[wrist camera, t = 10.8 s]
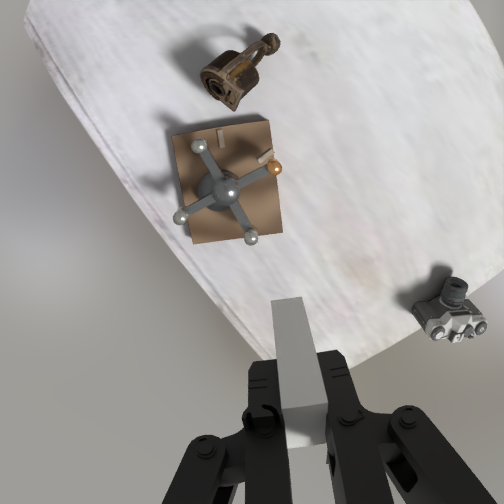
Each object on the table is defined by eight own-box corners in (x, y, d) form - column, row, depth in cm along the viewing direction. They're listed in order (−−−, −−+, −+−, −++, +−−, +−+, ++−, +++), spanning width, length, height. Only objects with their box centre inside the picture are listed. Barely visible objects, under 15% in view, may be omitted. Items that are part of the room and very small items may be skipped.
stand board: (174, 135, 44) (171, 136, 42) (269, 120, 43) (270, 120, 41) (195, 239, 50) (192, 245, 48) (282, 228, 50) (284, 233, 48)
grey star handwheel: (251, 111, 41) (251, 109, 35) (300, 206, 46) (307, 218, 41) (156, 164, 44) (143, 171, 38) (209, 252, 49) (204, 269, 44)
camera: (477, 273, 54) (503, 297, 45) (463, 313, 58) (485, 339, 49) (421, 274, 54) (446, 301, 44) (408, 317, 58) (428, 348, 48)
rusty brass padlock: (198, 96, 41) (184, 89, 32) (237, 25, 37) (234, 2, 28) (241, 115, 43) (239, 114, 34) (281, 44, 38) (289, 25, 29)
